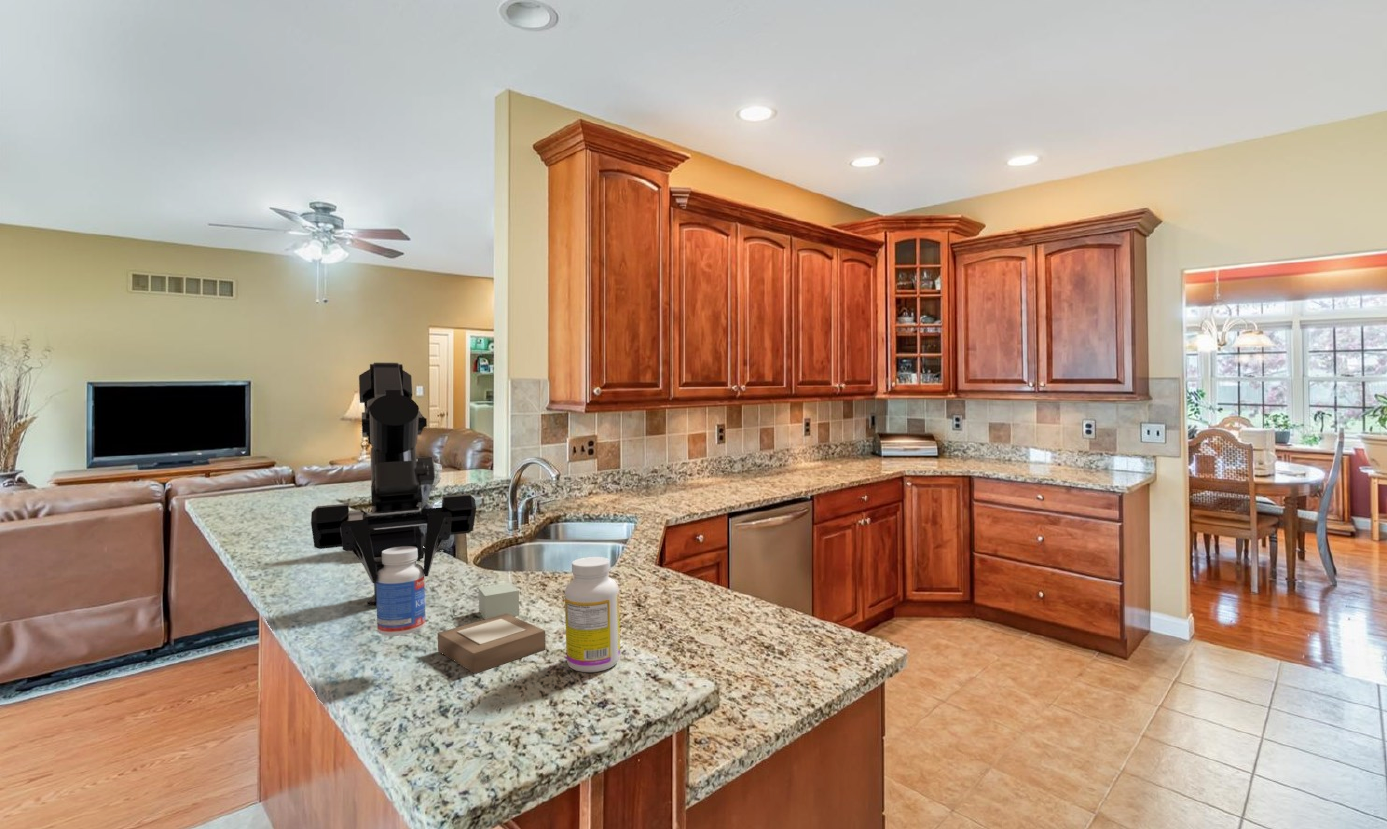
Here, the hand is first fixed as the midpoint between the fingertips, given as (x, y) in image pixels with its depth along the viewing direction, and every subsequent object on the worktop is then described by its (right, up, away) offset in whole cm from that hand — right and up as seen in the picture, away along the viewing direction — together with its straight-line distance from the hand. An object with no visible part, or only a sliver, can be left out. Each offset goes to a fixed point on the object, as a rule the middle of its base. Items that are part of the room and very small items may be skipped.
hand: (400, 578), depth 76 cm
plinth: (+9, -11, +7) cm, 16 cm away
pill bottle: (-1, -7, +2) cm, 7 cm away
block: (+5, -11, +22) cm, 25 cm away
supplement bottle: (+23, -12, +3) cm, 26 cm away
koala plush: (-29, -11, +67) cm, 74 cm away
